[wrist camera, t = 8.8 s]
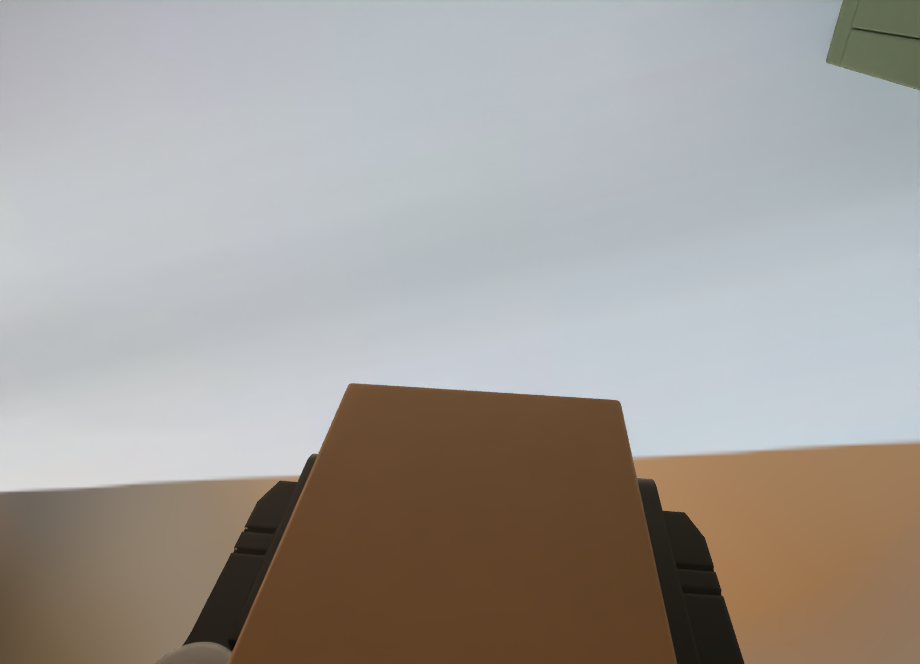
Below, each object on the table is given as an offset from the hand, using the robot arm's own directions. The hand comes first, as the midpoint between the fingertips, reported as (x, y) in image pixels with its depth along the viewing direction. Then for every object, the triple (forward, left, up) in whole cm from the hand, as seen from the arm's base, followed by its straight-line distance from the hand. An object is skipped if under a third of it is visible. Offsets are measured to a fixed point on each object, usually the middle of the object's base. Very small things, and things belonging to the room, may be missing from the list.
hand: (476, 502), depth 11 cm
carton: (0, 0, 0) cm, 0 cm away
